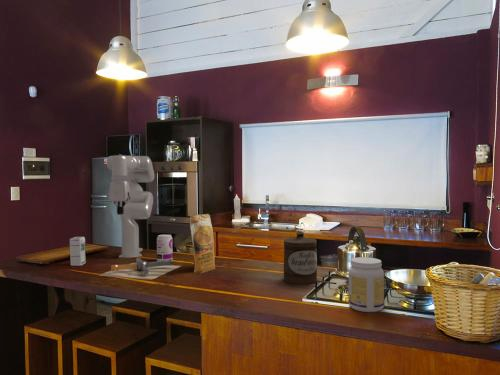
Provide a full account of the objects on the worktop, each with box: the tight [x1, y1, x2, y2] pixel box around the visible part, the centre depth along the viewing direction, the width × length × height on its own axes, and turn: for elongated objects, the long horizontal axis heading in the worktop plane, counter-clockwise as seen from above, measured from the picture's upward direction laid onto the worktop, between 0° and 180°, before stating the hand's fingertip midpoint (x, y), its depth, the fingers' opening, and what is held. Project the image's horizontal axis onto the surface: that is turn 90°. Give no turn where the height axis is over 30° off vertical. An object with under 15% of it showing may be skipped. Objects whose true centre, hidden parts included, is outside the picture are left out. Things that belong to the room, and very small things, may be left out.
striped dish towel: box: [99, 262, 181, 281], centre depth 192 cm, size 28×28×2 cm
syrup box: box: [69, 236, 87, 267], centre depth 211 cm, size 6×6×14 cm
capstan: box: [110, 257, 172, 274], centre depth 192 cm, size 28×28×4 cm
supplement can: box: [156, 234, 174, 263], centre depth 213 cm, size 8×8×15 cm
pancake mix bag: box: [189, 213, 216, 275], centre depth 195 cm, size 7×19×28 cm, turn 148°
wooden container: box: [283, 230, 318, 285], centre depth 178 cm, size 15×15×22 cm
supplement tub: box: [348, 256, 385, 313], centre depth 140 cm, size 12×12×17 cm
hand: (120, 214), depth 207 cm, fingers closed
